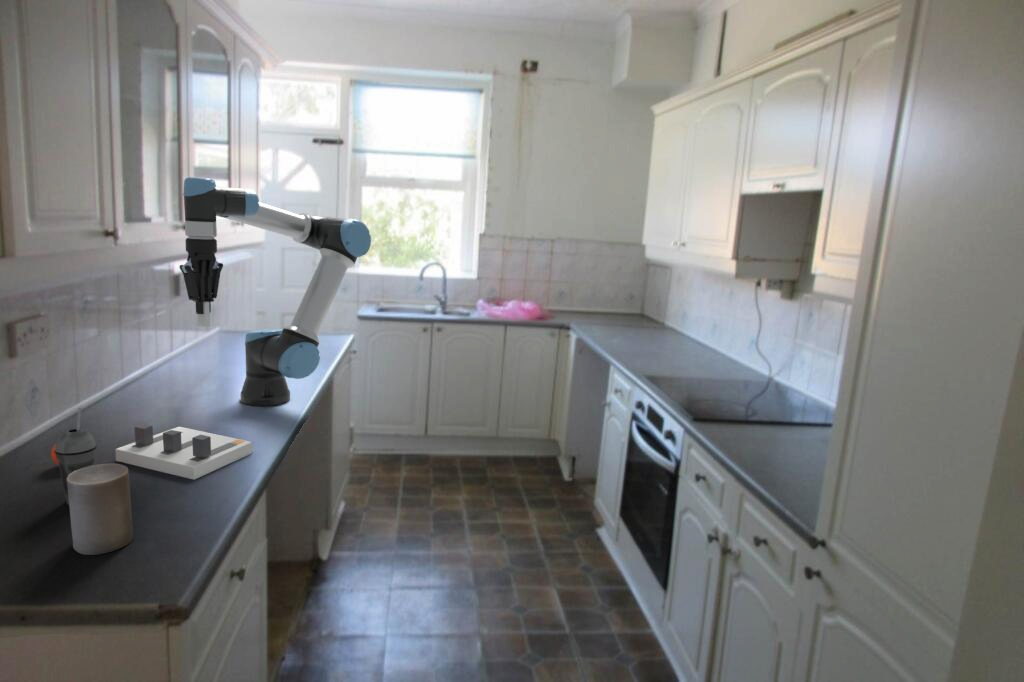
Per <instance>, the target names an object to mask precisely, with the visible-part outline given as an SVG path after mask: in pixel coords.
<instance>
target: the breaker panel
mask: <svg viewBox="0 0 1024 682" xmlns="http://www.w3.org/2000/svg"><path fill="white" fill-rule="evenodd" d="M153 430H154V428H153V425H150V424H146V423H142V424H138V425H136V426H134V439H135V440H134V442H131V443H128V444H125V445H123V446H120V447H117V448H115V461H116V462H119V463H124V464H128V465H133V466H136V467H141V468H145V469H148V470H152V471H155V472H156V471H157V472H160V473H164V474H168V475H169V474H170V475H172V476H173V475H174V476H177V477H182V478H185V479H190V480H194V481H195V480H196V479H199V478H200V477H201V478H202V477H203V476H206V475H207V474H210V473H211V472H214V471H216V470H219V469H221V468H223V467H224V466H227V465H229V464H232V463H235V462H236V461H238V460H240V459H242V458H244V457H247V456H249V455H252V454H253V442H252V441H250V440H244V439H240V438H236V437H231V436H226V435H221V434H217V433H216V434H215V433H212V432H207V431H202V430H196V429H192V428H188V427H183V426H177V427H174V428H171V429H168V430H165V431H162V432H160V433H157V434H154V431H153ZM198 435H205V436H210V437H211V455H209V456H207V457H204V458H201V457H196V456H193V442H192V438H193V437H196V436H198Z"/></svg>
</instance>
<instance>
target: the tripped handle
mask: <svg viewBox="0 0 1024 682" xmlns="http://www.w3.org/2000/svg"><path fill="white" fill-rule="evenodd" d="M192 442H193V456H196V457H201V458H204V457H207V456H209V455H211V437H210V436H205V435H198V436H196V437H193V438H192Z"/></svg>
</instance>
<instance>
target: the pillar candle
mask: <svg viewBox="0 0 1024 682" xmlns="http://www.w3.org/2000/svg"><path fill="white" fill-rule="evenodd" d="M129 471H130V470H129V468H128V466H126V465H123V464H121V463H101V464H94V465H93V466H88V467H84V468H81V469H79V470H76V471H73V472H72V473H70V474H69V475H68V477H67V478H66V479H67V486H68V497H69V505H68V506H69V516H70V517H69V518H70V528H71V536H72V537H71V538H72V548H73V550H74V551H75V552H77V553H79V554H80V555H84V556H95V555H97V556H98V555H103V554H108V553H110V552H111V553H112V552H114V551H116V550H117V551H118V550H119V549H121V548H123V547H125V546H128V545H129V544H130V543H131V542H132V541H133V540H134V537H135V536H134V532H133V529H134V528H133V525H134V524H133V513H132V499H131V488H130V487H131V486H130V473H129Z"/></svg>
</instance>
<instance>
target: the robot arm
mask: <svg viewBox="0 0 1024 682" xmlns="http://www.w3.org/2000/svg"><path fill="white" fill-rule="evenodd" d="M183 181H184V182H183V194H182V195H183V206H184V227H185V228H184V229H185V231H184V232H185V234H184V235H185V236H186V238H185V251H186V252H187V259H186V262H185V263H184V264H181V265H179V269H180V271H181V273H182V275H183V280H184V284H185V289H186V293H187V296H188V300H189V301H192V302H194V303H195V314H196V315H197V326H200V327H210V326H211V321H210V320H211V317H210V316H211V315H210V313H211V312H212V311H211V310H212V305H211V302H212V303H213V302H215V299H217V296H218V291H219V286H220V277H221V272H222V270H223V267H224V264H223V262H219V261H217V257H216V255H215V254H216V253H217V252H218V240H217V239H216V237H217V236H218V232H217V217H220V218H223V219H228V220H231V221H233V222H234V221H235V222H237V223H241V224H244V225H247V226H252V227H255V228H259V229H262V230H266V231H269V232H272V233H276V234H278V235H283V236H285V237H290V238H292V240H294V242H296V243H298V244H299V243H300V244H302V245H305V246H308V247H311V248H313V249H316V250H318V251H319V253H320V255H321V258H320V261H319V262H318V265H317V267H316V269H315V271H314V273H313V276H312V278H311V280H310V282H309V284H308V286H307V289H306V291H305V293H304V294H303V295H304V296H303V298H302V300H301V302H300V304H299V306H298V308H297V310H296V313H295V314H294V316H293V318H292V322H291V323H290V325H288V326H285V327H283V329H282V328H265V329H264V328H263V329H262V328H261V329H255V330H250V331H248V332H246V334H245V339H244V346H245V348H244V349H245V378H244V382H243V385H242V389H241V392H240V394H239V395H240V402H241V403H243V404H244V405H249V406H256V407H258V406H259V407H268V406H269V407H270V406H276V405H277V406H278V405H280V404H285V403H286V402H288V401H290V400H291V391H290V389H289V386H288V382H287V379H286V378H289V379H295V380H300V379H301V380H302V379H305V378H307V377H309V376H311V375H312V374H313V373H315V371H316V369H317V368H318V366H319V364H320V361H321V355H320V350H319V349H318V347H319V345H320V340H319V338H318V335H319V332H320V331H321V329H322V325H323V323H324V321H325V319H326V316H327V314H328V313H329V310H330V308H331V306H332V304H333V301H334V299H335V297H336V294H337V293H338V290H339V288H340V285H341V284H342V281H343V280H344V277H345V274H346V272H347V270H348V269H349V268H352V267H354V266H355V264H356V262H357V260H358V258H361V257H363V256H365V255H367V253H369V251H370V248H371V245H372V244H371V243H372V237H371V236H372V235H371V234H370V230H369V228H368V226H367V225H366V224H365V223H364V222H362V221H361V220H358V219H354V218H351V217H348V218H343V217H334V216H319V215H318V216H317V215H311V214H307V213H304V212H303V213H300V214H297V213H295V212H294V213H293V212H291V211H288V210H285V209H282V208H278V207H275V206H272V205H269V204H266V203H263V202H261V201H260V198H259V195H258V194H257V192H256V191H255V190H253V189H249V188H245V187H244V188H240V187H239V188H238V187H220V186H217V185H216V181H215V179H214V178H204V177H193V176H192V177H191V176H190V177H186V178H185V179H184V180H183Z"/></svg>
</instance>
